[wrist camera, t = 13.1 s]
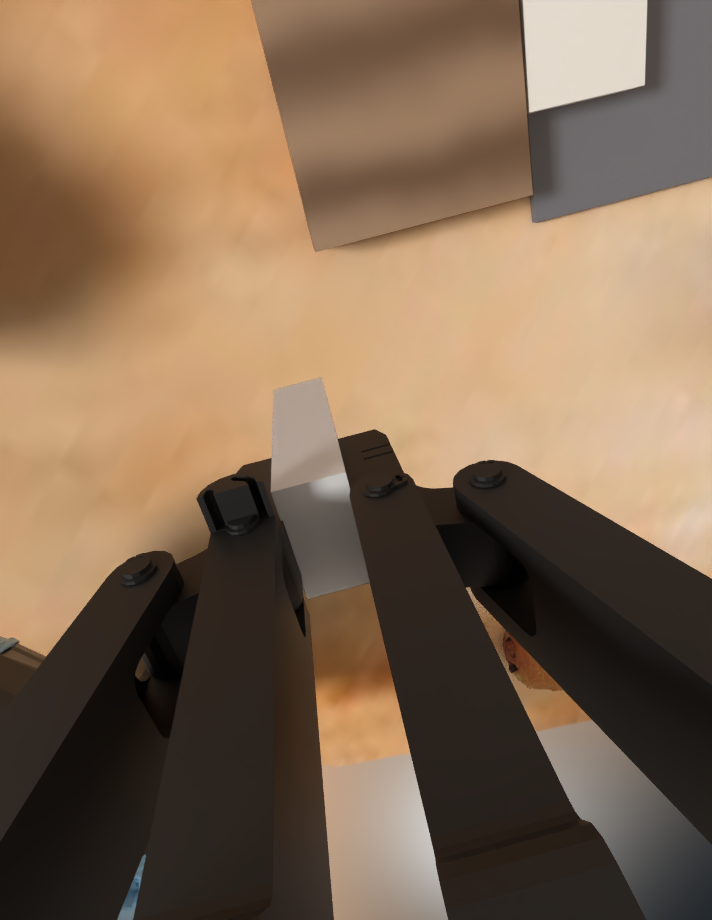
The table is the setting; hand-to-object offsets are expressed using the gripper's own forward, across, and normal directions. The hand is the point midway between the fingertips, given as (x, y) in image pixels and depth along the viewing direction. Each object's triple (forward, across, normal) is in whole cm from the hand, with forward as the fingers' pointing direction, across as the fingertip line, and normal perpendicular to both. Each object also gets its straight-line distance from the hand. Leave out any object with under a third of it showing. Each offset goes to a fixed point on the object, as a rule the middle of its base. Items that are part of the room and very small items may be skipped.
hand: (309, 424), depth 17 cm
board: (+23, -9, -12) cm, 28 cm away
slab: (+22, -20, -12) cm, 32 cm away
